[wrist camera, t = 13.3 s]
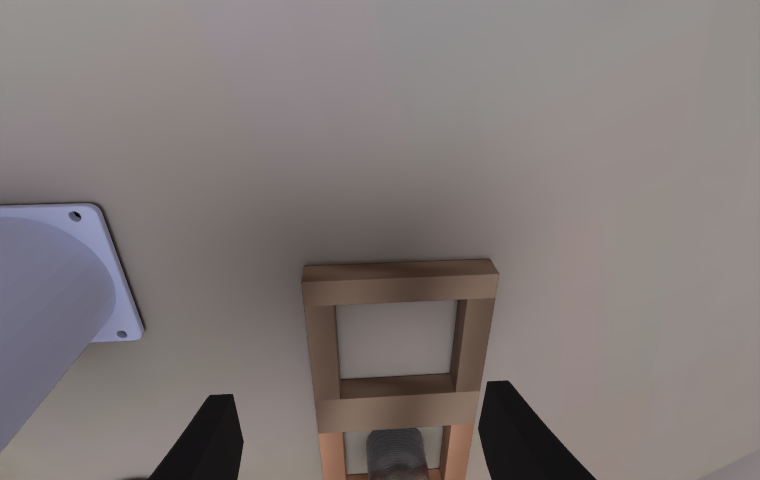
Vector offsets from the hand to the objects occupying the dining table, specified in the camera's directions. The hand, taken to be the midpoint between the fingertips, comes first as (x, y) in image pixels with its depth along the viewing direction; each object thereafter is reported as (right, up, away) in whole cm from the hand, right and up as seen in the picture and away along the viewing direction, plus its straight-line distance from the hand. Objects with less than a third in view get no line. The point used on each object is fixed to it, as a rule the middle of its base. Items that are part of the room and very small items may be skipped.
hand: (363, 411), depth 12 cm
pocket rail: (+2, -5, +15) cm, 16 cm away
